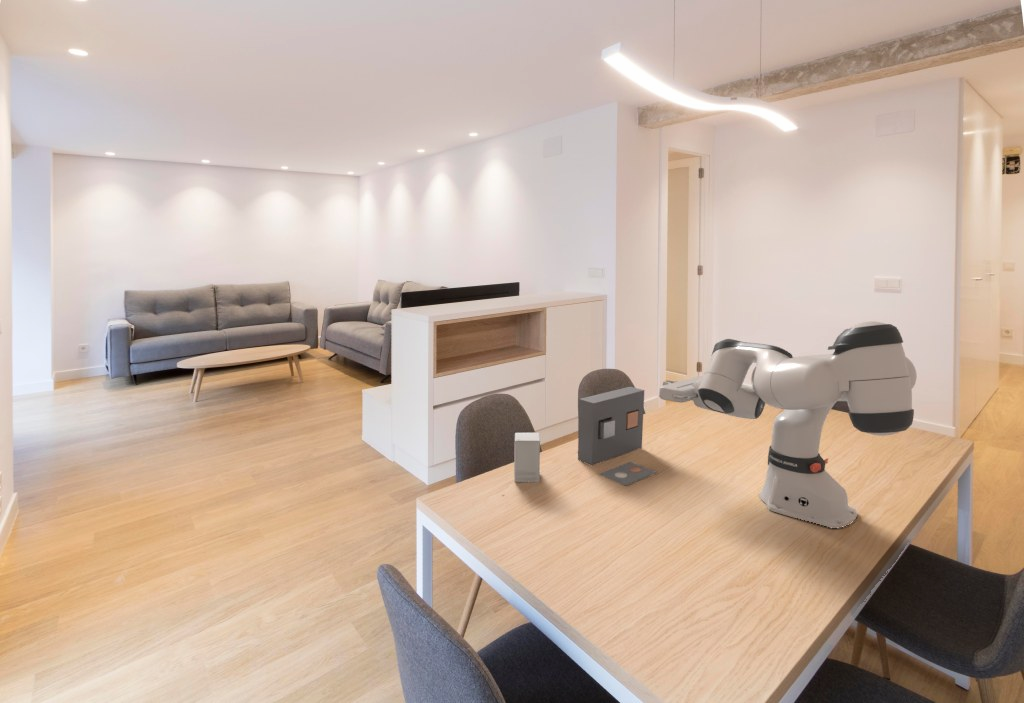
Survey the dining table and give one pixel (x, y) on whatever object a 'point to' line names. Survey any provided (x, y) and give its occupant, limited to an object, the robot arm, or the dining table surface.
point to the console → (616, 409)
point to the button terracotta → (632, 419)
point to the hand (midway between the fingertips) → (665, 383)
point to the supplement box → (527, 457)
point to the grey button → (606, 428)
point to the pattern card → (627, 473)
